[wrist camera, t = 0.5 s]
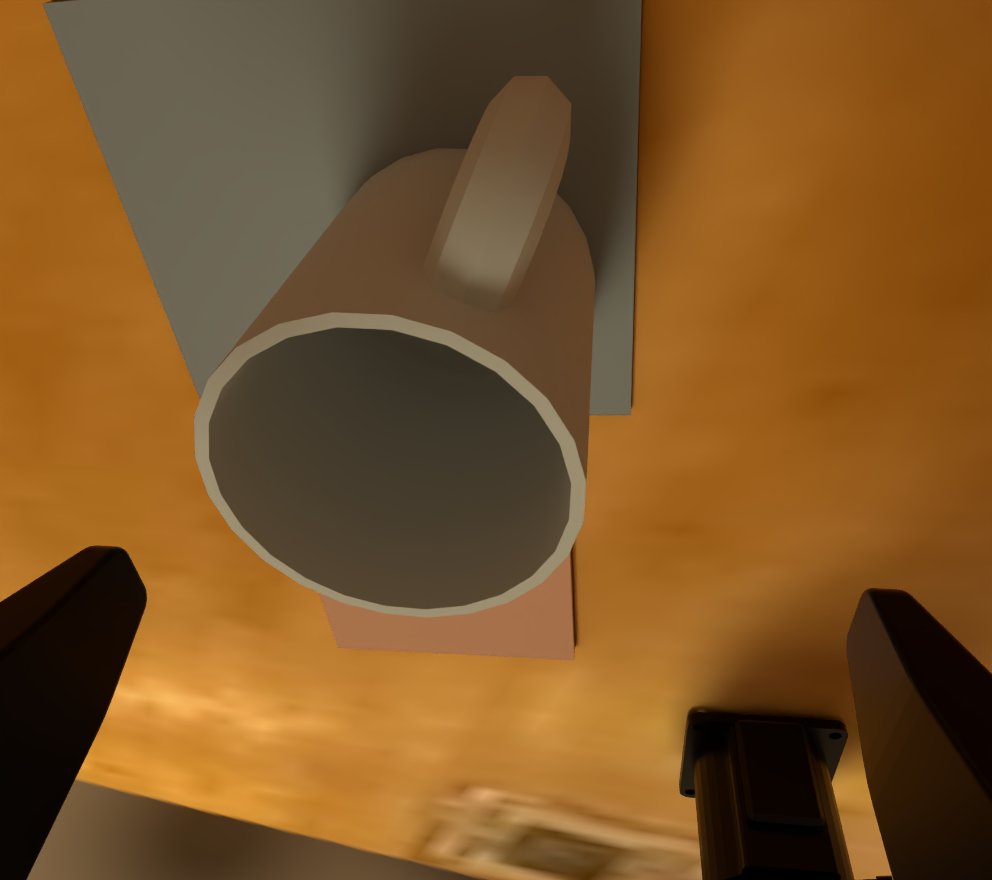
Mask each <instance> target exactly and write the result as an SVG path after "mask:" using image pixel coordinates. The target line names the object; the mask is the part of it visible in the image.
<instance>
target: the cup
mask: <svg viewBox="0 0 992 880" xmlns="http://www.w3.org/2000/svg"><path fill="white" fill-rule="evenodd" d="M570 129H571V103H570V101H569V100H568V99H567V98H566V97H565V96H564V94H563V93H562V92H561V91H560V90H559V89H558V87H557V86H556V85H555V84H554V83H553V82H552V81H551V79H550V78H549V77H548V76H514V77H513V78H512V79H511V80H510V81H509V82H508V83H507V84H506V86H505V87H504V88H503V89H502V90H501V91H500V92H499V93H498V94H497V95H496V96H495V97H494V99H493V100H492V101H491V102H490V103H489V105H488V106H487V108H486V110H485V112H484V114H483V116H482V118H481V120H480V123H479V125H478V127H477V129H476V132H475V134H474V136H473V138H472V140H471V143H470V145H469V148H468V149H448V148H436V149H432V150H429V151H425V152H421V153H418V154H414V155H410V156H407V157H403V158H401V159H399V160H398V161H396V162H394V163H393V164H391V165H389V166H388V167H386V168H385V169H383V170H381V171H380V172H378V173H376V174H375V175H373V176H372V177H371V178H370V179H369V180H368V181H366V182H365V183H364V184H363V185H362V187H361V188H360V189H359V190H358V191H357V192H356V194H355V195H354V196H353V197H352V198H351V199H350V201H349V202H348V203H347V204H346V205H345V206H344V208H343V209H342V210H341V211H340V212H339V214H338V215H337V216H336V218H335V219H334V220H333V221H332V223H331V224H330V225H329V226H328V228H327V229H326V230H325V231H324V233H323V234H322V235H321V237H320V238H319V239H318V240H317V242H316V243H315V244H314V245H313V247H312V248H311V249H310V251H309V252H308V253H307V254H306V256H305V257H304V258H303V259H302V261H301V262H300V263H299V265H298V266H297V267H296V268H295V270H294V271H293V272H292V273H291V275H290V276H289V277H288V278H287V280H286V281H285V282H284V284H283V285H282V286H281V287H280V289H279V290H278V291H277V292H276V294H275V295H274V296H273V298H272V299H271V300H270V301H269V303H268V304H267V305H266V306H265V308H264V309H263V310H262V312H261V313H260V314H259V315H258V317H257V318H256V319H255V320H254V322H253V323H252V324H251V325H250V327H249V328H248V329H247V331H246V332H245V333H244V334H243V336H242V337H241V338H240V339H239V341H238V342H237V343H236V345H235V346H234V347H233V348H232V350H231V351H230V352H229V353H228V355H227V356H226V357H225V359H224V360H223V361H222V362H221V364H220V365H219V366H218V367H217V369H216V370H215V371H214V373H213V374H212V375H211V376H210V378H209V379H208V381H207V383H206V386H205V389H204V392H203V394H202V397H201V400H200V403H199V405H198V408H197V411H196V414H195V417H194V430H195V458H196V461H197V464H198V466H199V469H200V472H201V475H202V478H203V481H204V484H205V487H206V490H207V493H208V495H209V497H210V498H211V500H212V501H213V503H214V504H215V506H216V507H217V509H218V510H219V511H220V513H221V514H222V516H223V517H224V519H225V520H226V522H227V523H228V525H229V526H230V528H231V529H232V530H233V531H234V532H235V533H236V534H237V535H238V536H239V537H240V538H241V539H242V540H243V541H244V542H245V543H246V544H247V545H248V546H249V547H250V548H251V549H252V550H253V551H254V552H255V553H256V554H257V555H258V556H260V557H261V558H262V559H263V560H264V561H265V562H267V563H269V564H270V565H272V566H273V567H275V568H276V569H278V570H279V571H281V572H282V573H284V574H285V575H287V576H288V577H290V578H291V579H293V580H294V581H296V582H297V583H299V584H301V585H303V586H305V587H307V588H310V589H312V590H314V591H316V592H319V593H321V594H323V595H326V596H328V597H330V598H332V599H335V600H337V601H339V602H341V603H345V604H349V605H353V606H357V607H361V608H365V609H369V610H372V611H376V612H380V613H384V614H394V615H405V616H416V617H427V618H429V617H440V616H451V615H462V614H471V613H474V612H478V611H481V610H485V609H488V608H491V607H495V606H498V605H501V604H505V603H508V602H510V601H512V600H514V599H515V598H517V597H519V596H521V595H522V594H524V593H526V592H527V591H529V590H531V589H533V588H534V587H536V586H538V585H539V584H541V583H543V582H544V580H545V579H546V578H547V577H548V576H549V575H550V574H551V573H552V572H553V571H554V570H555V569H556V568H557V567H558V566H559V565H560V564H561V563H562V562H563V561H564V560H565V559H566V558H567V556H568V555H569V553H570V550H571V548H572V546H573V544H574V542H575V539H576V537H577V535H578V533H579V531H580V528H581V526H582V524H583V520H584V507H585V494H586V479H587V457H588V435H589V412H590V390H591V368H592V346H593V324H594V301H595V275H594V269H593V264H592V260H591V255H590V251H589V246H588V242H587V238H586V236H585V234H584V232H583V230H582V228H581V227H580V225H579V223H578V221H577V219H576V217H575V215H574V214H573V212H572V210H571V208H570V206H569V205H568V204H567V203H566V202H565V201H564V200H563V199H562V198H561V197H560V196H559V195H558V194H557V190H558V187H559V184H560V181H561V178H562V174H563V171H564V167H565V163H566V159H567V156H568V150H569V144H570Z"/></svg>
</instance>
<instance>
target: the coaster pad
mask: <svg viewBox="0 0 992 880" xmlns="http://www.w3.org/2000/svg"><path fill="white" fill-rule="evenodd" d="M319 594H320V597H321V600H322V603H323V605H324V608H325V611H326V614H327V617H328V620H329V623H330V626H331V628H332V631H333V634H334V637H335V640H336V643H337V646H338V648H348V649H367V650H386V651H406V652H425V653H444V654H464V655H483V656H502V657H522V658H541V659H560V660H574V654H575V639H574V613H573V587H572V561H571V550H570V553H569V555H568V556H567V558H566V559H565V560H564V561H563V562H562V563H561V564H560V565H559V566H558V567H557V568H556V569H555V570H554V571H553V572H552V573H551V574H550V575H549V576H548V577H547V578H546V579H545V580H544V582H543V583H541V584H539V585H538V586H536V587H534V588H533V589H531V590H529V591H527V592H526V593H524V594H522V595H521V596H519V597H517V598H515V599H514V600H512V601H510V602H508V603H505V604H501V605H498V606H495V607H491V608H488V609H485V610H481V611H478V612H474V613H471V614H462V615H451V616H440V617H429V618H427V617H416V616H405V615H394V614H384V613H380V612H376V611H372V610H369V609H365V608H361V607H357V606H353V605H349V604H345V603H341V602H339V601H337V600H335V599H332V598H330V597H328V596H326V595H323V594H321V593H319Z"/></svg>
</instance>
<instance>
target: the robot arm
mask: <svg viewBox="0 0 992 880" xmlns="http://www.w3.org/2000/svg"><path fill="white" fill-rule="evenodd" d="M146 602H147V593H146V588H145V586H144V584H143V582H142V580H141V578H140V576H139V574H138V572H137V570H136V568H135V566H134V564H133V562H132V560H131V558H130V557H129V555H128V553H127V552H126V551H125V550H124V549H122V548H120V547H114V546H90V547H87V548H85V549H83V550H82V551H80V552H79V553H77V554H75V555H74V556H72V557H71V558H69V559H68V560H66V561H64V562H63V563H61V564H60V565H58V566H56V567H55V568H53V569H52V570H50V571H49V572H47V573H45V574H44V575H42V576H41V577H39V578H38V579H36V580H34V581H33V582H31V583H30V584H28V585H27V586H25V587H23V588H22V589H20V590H19V591H17V592H16V593H14V594H12V595H11V596H9V597H8V598H6V599H4V600H3V601H1V602H0V880H27V878H28V876H29V873H30V871H31V869H32V867H33V865H34V863H35V861H36V859H37V857H38V855H39V853H40V851H41V849H42V847H43V845H44V843H45V840H46V838H47V836H48V834H49V832H50V830H51V828H52V826H53V824H54V822H55V820H56V818H57V815H58V813H59V812H60V809H61V807H62V805H63V803H64V801H65V799H66V797H67V795H68V793H69V791H70V789H71V787H72V784H73V783H74V781H75V778H76V776H77V774H78V772H79V770H80V768H81V766H82V764H83V762H84V760H85V758H86V756H87V754H88V752H89V750H90V747H91V745H92V743H93V741H94V739H95V737H96V735H97V733H98V731H99V729H100V726H101V724H102V722H103V720H104V718H105V715H106V713H107V710H108V708H109V705H110V703H111V700H112V698H113V695H114V692H115V690H116V687H117V684H118V681H119V679H120V676H121V673H122V670H123V668H124V665H125V662H126V659H127V657H128V654H129V651H130V649H131V646H132V643H133V640H134V638H135V635H136V632H137V629H138V627H139V624H140V621H141V618H142V616H143V613H144V610H145V607H146ZM846 647H847V658H848V664H849V671H850V677H851V684H852V690H853V697H854V703H855V710H856V716H857V722H858V729H859V735H860V742H861V748H862V755H863V761H864V767H865V772H866V778H867V784H868V788H869V792H870V796H871V800H872V804H873V808H874V811H875V815H876V819H877V822H878V826H879V830H880V833H881V837H882V840H883V844H884V848H885V851H886V855H887V859H888V862H889V866H890V869H891V873H892V876H876V878H877V879H865V880H892V877H893V880H992V673H990V672H989V671H988V670H987V669H986V668H985V667H984V666H983V665H982V664H981V663H980V662H979V661H978V660H977V659H976V658H975V657H974V656H973V655H972V654H971V653H970V652H969V651H968V650H967V649H966V648H965V647H964V646H963V645H962V644H961V643H960V642H959V641H958V640H957V639H956V638H955V637H954V636H953V635H952V634H951V633H949V632H948V631H947V630H946V629H945V628H944V627H943V626H942V625H941V624H940V623H939V622H938V621H937V620H936V619H935V618H934V617H933V616H932V615H931V614H930V613H929V612H928V611H927V610H926V609H925V608H924V607H923V606H922V605H921V604H920V603H919V602H918V601H917V600H916V599H915V598H914V597H913V596H911V595H910V594H909V593H907V592H905V591H903V590H897V589H879V588H870V589H867V590H865V591H864V593H863V594H862V596H861V598H860V601H859V604H858V606H857V609H856V612H855V615H854V618H853V620H852V623H851V626H850V629H849V632H848V635H847V645H846ZM847 738H848V733H847V729H846V725H845V724H844V723H842V722H840V721H835V720H818V719H802V718H785V717H769V716H752V715H736V714H720V713H703V712H695V713H692V714H690V715H688V717H687V721H686V730H685V738H684V746H683V755H682V763H681V771H680V780H679V789H680V794H681V795H683V796H685V797H691V798H695V799H696V810H697V822H698V833H699V845H700V856H701V868H702V879H703V880H854V876H853V872H852V868H851V863H850V859H849V855H848V851H847V846H846V842H845V838H844V834H843V830H842V825H841V821H840V817H839V813H838V808H837V804H836V800H835V796H834V791H833V787H832V783H831V782H832V780H833V777H834V774H835V771H836V769H837V766H838V763H839V760H840V757H841V755H842V752H843V749H844V746H845V744H846V741H847Z"/></svg>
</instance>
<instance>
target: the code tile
mask: <svg viewBox="0 0 992 880" xmlns="http://www.w3.org/2000/svg"><path fill="white" fill-rule="evenodd" d="M43 6H44V9H45V11H46V14H47V16H48V19H49V21H50V24H51V26H52V29H53V31H54V34H55V36H56V39H57V41H58V44H59V46H60V49H61V51H62V54H63V56H64V59H65V61H66V64H67V66H68V69H69V71H70V74H71V76H72V79H73V81H74V84H75V86H76V89H77V91H78V94H79V96H80V99H81V101H82V104H83V107H84V109H85V112H86V114H87V117H88V119H89V122H90V124H91V127H92V129H93V132H94V134H95V137H96V139H97V142H98V144H99V147H100V149H101V152H102V154H103V157H104V159H105V162H106V164H107V167H108V169H109V172H110V174H111V177H112V179H113V182H114V184H115V187H116V189H117V192H118V194H119V197H120V199H121V202H122V204H123V207H124V209H125V212H126V214H127V217H128V219H129V222H130V224H131V227H132V229H133V232H134V234H135V237H136V239H137V242H138V244H139V247H140V249H141V252H142V254H143V257H144V260H145V262H146V265H147V267H148V270H149V272H150V275H151V277H152V280H153V282H154V285H155V287H156V290H157V292H158V295H159V297H160V300H161V302H162V305H163V307H164V310H165V312H166V315H167V317H168V320H169V322H170V325H171V327H172V330H173V332H174V335H175V337H176V340H177V342H178V345H179V347H180V350H181V352H182V355H183V357H184V360H185V362H186V365H187V367H188V370H189V372H190V375H191V377H192V380H193V382H194V385H195V387H196V390H197V392H198V395H199V397H200V400H201V397H202V394H203V392H204V389H205V386H206V383H207V381H208V379H209V378H210V376H211V375H212V374H213V373H214V371H215V370H216V369H217V367H218V366H219V365H220V364H221V362H222V361H223V360H224V359H225V357H226V356H227V355H228V353H229V352H230V351H231V350H232V348H233V347H234V346H235V345H236V343H237V342H238V341H239V339H240V338H241V337H242V336H243V334H244V333H245V332H246V331H247V329H248V328H249V327H250V325H251V324H252V323H253V322H254V320H255V319H256V318H257V317H258V315H259V314H260V313H261V312H262V310H263V309H264V308H265V306H266V305H267V304H268V303H269V301H270V300H271V299H272V298H273V296H274V295H275V294H276V292H277V291H278V290H279V289H280V287H281V286H282V285H283V284H284V282H285V281H286V280H287V278H288V277H289V276H290V275H291V273H292V272H293V271H294V270H295V268H296V267H297V266H298V265H299V263H300V262H301V261H302V259H303V258H304V257H305V256H306V254H307V253H308V252H309V251H310V249H311V248H312V247H313V245H314V244H315V243H316V242H317V240H318V239H319V238H320V237H321V235H322V234H323V233H324V231H325V230H326V229H327V228H328V226H329V225H330V224H331V223H332V221H333V220H334V219H335V218H336V216H337V215H338V214H339V212H340V211H341V210H342V209H343V208H344V206H345V205H346V204H347V203H348V202H349V201H350V199H351V198H352V197H353V196H354V195H355V194H356V192H357V191H358V190H359V189H360V188H361V187H362V185H363V184H364V183H365V182H366V181H368V180H369V179H370V178H371V177H372V176H373V175H375V174H376V173H378V172H380V171H381V170H383V169H385V168H386V167H388V166H389V165H391V164H393V163H394V162H396V161H398V160H399V159H401V158H403V157H407V156H410V155H414V154H418V153H421V152H425V151H429V150H432V149H436V148H448V149H468V148H469V145H470V143H471V140H472V138H473V136H474V134H475V132H476V129H477V127H478V125H479V123H480V120H481V118H482V116H483V114H484V112H485V110H486V108H487V106H488V105H489V103H490V102H491V101H492V100H493V99H494V97H495V96H496V95H497V94H498V93H499V92H500V91H501V90H502V89H503V88H504V87H505V86H506V84H507V83H508V82H509V81H510V80H511V79H512V78H513V77H514V76H548V77H549V78H550V79H551V81H552V82H553V83H554V84H555V85H556V86H557V87H558V89H559V90H560V91H561V92H562V93H563V94H564V96H565V97H566V98H567V99H568V100H569V101H570V103H571V129H570V144H569V150H568V156H567V159H566V163H565V167H564V171H563V174H562V178H561V181H560V184H559V187H558V190H557V194H558V195H559V196H560V197H561V198H562V199H563V200H564V201H565V202H566V203H567V204H568V205H569V206H570V208H571V210H572V212H573V214H574V215H575V217H576V219H577V221H578V223H579V225H580V227H581V228H582V230H583V232H584V234H585V236H586V238H587V242H588V246H589V251H590V255H591V260H592V264H593V269H594V275H595V301H594V324H593V346H592V368H591V390H590V412H589V415H631V384H632V347H633V309H634V272H635V234H636V197H637V159H638V122H639V84H640V47H641V9H642V0H63V1H52V2H47V3H43Z"/></svg>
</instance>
